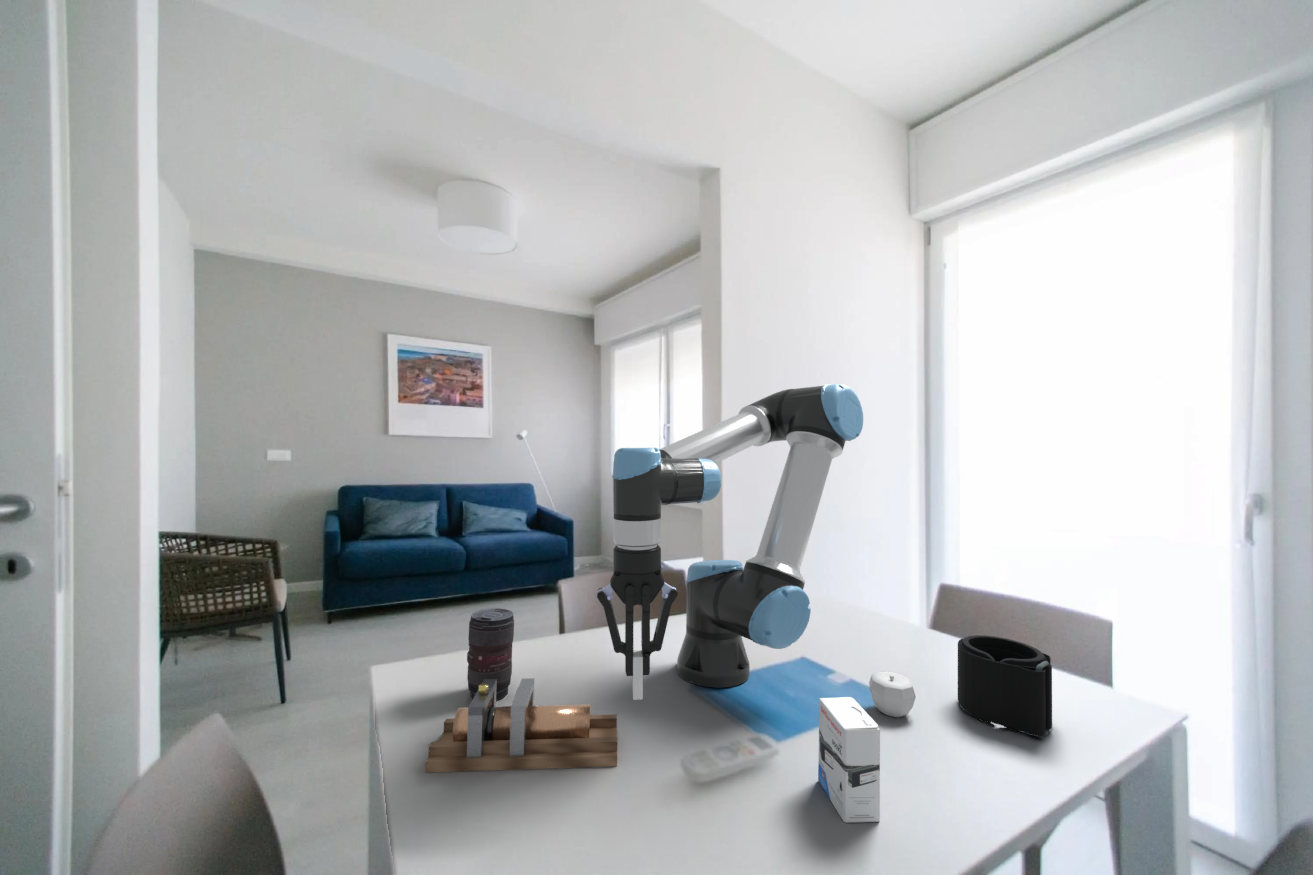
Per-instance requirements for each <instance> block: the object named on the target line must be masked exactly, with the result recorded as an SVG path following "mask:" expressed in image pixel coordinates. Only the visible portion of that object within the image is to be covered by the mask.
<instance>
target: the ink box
mask: <svg viewBox="0 0 1313 875" xmlns="http://www.w3.org/2000/svg"><path fill="white" fill-rule="evenodd" d="M818 700H819V701H818V702H819V703H818V704H819V705H818V710H819V711H818V767H817V768H818V774H817V776H818V778H817V779H818V783H819V784H820V786H821V787H822V789H823V790H824V792H825V794H826V795H827V796H828V798H829V801H831V803H832V805H833V806H834V808H835V809H836V812H837V813H838V814H839V816H840V817H841V820H842V821H843V823H847V824H848V823H876V822H877V823H878V822H881V821H880V820H881V808H880V807H881V804H880V803H881V794H880V793H881V791H880V790H881V787H880V786H881V785H880V784H881V782H880V780H881V779H880V778H881V777H880V775H881V769H880V768H881V729H880V728H879V724H878V723H877V722H876V721H875V720H874V719H873V717H871V715H869V714H868V713H867V711H866V710H865V709H864V708H863V707H862V706H861V705H860V704H859V702H857V701H856V699H855V698H853V697H850V696H842V697H819V699H818Z"/></svg>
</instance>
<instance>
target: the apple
mask: <svg viewBox="0 0 1313 875" xmlns="http://www.w3.org/2000/svg"><path fill="white" fill-rule="evenodd" d="M870 676H871V677H870V679H869V681H868V684H869V691H870V695H871V698H872V701H873V703H874V705H875V706H876V709H878V711H879V712H880V713H883V714H884V715H886V716H889V717H893V718H900V717H905V716H907V715H908V714H909V713H910V712H911V710H912V709H913V708H914V705H915V701H916V697H917V696H916V693H915V690H914V687H913V683H912V680H911V679H910V678H908V677H906V676H904V675H902V674H900V673H897V672H889V671H880V672H874V673H872V674H871V675H870Z"/></svg>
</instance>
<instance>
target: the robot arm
mask: <svg viewBox="0 0 1313 875" xmlns="http://www.w3.org/2000/svg"><path fill="white" fill-rule="evenodd" d="M863 426H864V412H863V407H862V404H861V401H860V399H859V397H858V395H857V393H856V392H855V390H853V389H852V387H849V386H848V385H846V384H843V383H840V384H839V383H835V384H830V383H826V384H824V385H817V386H816V385H815V386H809V387H798V388H789V389H782V390H780V391H777V392H774V393H772V394H770V395H768V396H766V397H763V398H761V399H759V400H756V401H754V402H753V403H751V404H748V405H745V406H744V407H742V408H741V409H740V410H739V412H738V414H736V415H735V416H731V417H729V418H728V419H724V420H722V421H721V422H719V423H716V424H714V425H712V426H709V427H707V428H705V429H702V430H700V431H698V432H695V433H693V434H691V435H688V436H687V437H684V438H682V439H680V440H678V441H674V442H673V443H670V444H669V445H666V446H664V447H662V448H659V447H658V448H657V447H620V448H618V449H616V451H615V453H614V456H613V465H612V466H613V467H612V475H611V477H612V480H613V481H612V483H613V484H612V486H613V490H612V492H613V493H612V494H613V495H612V496H613V498H612V499H613V502H612V503H613V518H612V521H613V522H612V523H613V527H612V530H613V534H612V535H613V537H612V539H613V540H612V541H613V543H614V544H615V546H614V548H613V554H612V556H613V562H612V563H613V566H612V567H613V568H612V569H613V572H612V576H611V578H610V583H608V584H606V586H604V587H599V588H598V589H597V591H596V592H597V593H596V598H597V599H598V601H599V603H600V605H602V607H603V611H604V614H605V618H606V622H607V626H608V631H609V634H610V638H611V642H612V647H613V651H614V652H615V653H616V654H619V653H621V654H623V655H624V656H625V657H624V658H625V662H624V663H625V667H624V670H625V671H624V672H625V675H626V677H632V700H633V701H636V700H637V701H638V700H640V701H641V700H644V680H643V678H644V676H649V675H650V673H651V655H652V654H653V653H654V652H660V651H662V648H663V643H664V639H665V635H666V630H667V626H668V622H669V618H670V613H671V609H672V605H673V603H675V600H676V599H677V597H678V596H679V593H678V590H677V588H676V587H675V585H670V584H668V583H667V582H665V578H664V576H663V575H662V548H661V547H660V545H659V544H660V543H661V541H662V535H661V534H662V530H661V529H662V522H661V521H662V518H661V516H662V506H667V505H678V504H690V503H691V504H693V503H695V504H696V503H697V504H700V503H703V502H708V501H709V502H710V501H712V500H714V499H715V498H716V497H717V496H718V494H719V493H720V491H721V487H722V472H721V471H720V468H719V466H718V465H717V464H718V463H720V462H722V461H724V460H726V459H728V458H730V457H732V456H734V455H737V454H738V453H740V452H742V451H744V450H746V449H749V448H750V447H752V446H754V447H762V446H764V445H766V444H768V443H772V442H781V441H786V442H787V443H788V445H789V447H790V448H789V451H788V454H787V458H786V462H785V463H784V467H783V470H782V473H781V477H780V480H779V483H778V486H777V488H776V491H775V492H776V493H775V495H774V498H773V499H774V500H773V502H772V505H771V508H770V510H769V514H768V517H767V521H766V524H765V528H764V531H763V533H762V537H761V540H760V543H759V547H758V549H757V552H756V555H755V556H753V557H751V558H749V559H748V560H746V561H745V564H744V566H743V563H742V562H741V561H740V560H734V559H714V560H713V559H712V560H711V559H710V560H703V561H697V562H694V563H693V562H692V564H690V565H689V567H687V568H688V569H687V575H686V577H687V578H686V582H685V584H686V600H685V601H686V606H685V608H686V610H685V612H686V613H685V617H686V618H685V622H686V626H685V628H686V629H685V634H684V635H685V636H684V638H683V642H682V644H681V648H680V650H679V653H678V657H677V660H676V664H677V665H676V672H677V674H678V675H679V677H681V679H683V680H685V681H686V682H689V683H690V684H694V685H697V686H701V687H707V688H717V689H719V688H730V687H736V686H739V685H741V684H743V683H745V682H747V681H748V680H749V678H750V661H749V658H748V654H747V651H746V650H747V649H746V647H745V644H744V641H743V638H745V639H747V640H749V641H751V642H753V643H755V644H758V645H759V646H763V647H768V648H771V649H775V650H782V649H786V648H788V647H790V646H792V645H793V644H795V643H796V642H797V641H798V640H799V639H800V638H801V637H802V636H803V634H804V632H805V631H806V629H807V627H808V625H809V622H810V617H811V606H810V604H811V602H810V597H809V595H808V594H807V593H806V592H805V591H804V588H805V584H806V581H805V579H804V577H803V576H802V573H801V567H802V564H803V561H804V557H805V554H806V550H807V547H808V543H809V540H810V537H811V533H812V529H813V528H814V523H815V520H816V516H817V513H818V509H819V506H820V503H821V499H822V496H823V493H824V492H823V491H824V488H825V486H826V482H827V477H828V476H829V472H830V467H831V464H832V461H833V459H835V458H838V457H839V456H841V455H842V454H843V450H844V447H845V445H846V442H847V441H848V442H851V441H853V440H855V439H857V438H858V437H859V436H860V435H861V433H862V432H863V431H862V430H863ZM660 591H661V597H662V600H661V604H660V608H659V613H658V617H657V621H656V625H655V630H654V633H653V638H652V640H651V604H652V603H653V601H654V600H655V598H656V597H657V596H658V594H659V592H660ZM613 592H614V593H615V595H616V596H617V597H618V598H619V600H620V601H621V602H622V603H623V604H624V611H625V614H624V616H625V617H624V618H625V619H624V620H625V621H624V626H625V627H624V629H625V632H624V636H625V637H624V638H625V639H624V641H622V639H621V635H620V631H619V626H618V622H617V618H616V614H615V611H614V606H613V602H612V600H613V598H614V597H613V595H614V594H613ZM637 605H638V606H640V610H641V611H640V613H641V615H640V618H641V620H640V626H641V629H640V630H641V631H640V632H641V638H640V639H641V641H640V642H641V649H637V650H634V613H635V612H634V606H637Z"/></svg>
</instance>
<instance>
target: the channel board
mask: <svg viewBox="0 0 1313 875" xmlns="http://www.w3.org/2000/svg"><path fill="white" fill-rule="evenodd" d="M454 719H455V717H454V718H446V719H445V721H444V722H443V732H442V734H441V735H440V737H439V739H438V740H437V741H434V742H431V743H430V744H429V746H428V755H427V759H426V760H425V763H424V764H425V766H424V767H425V771H424V772H425V773H427V774H428V773H451V772H454V773H455V772H456V773H457V772H478V771H479V772H481V771H482V772H484V771H513V770H541V769H542V770H543V769H567V768H568V769H569V768H570V769H573V768H577V769H578V768H597V767H598V768H601V767H604V768H605V767H618V714H590V733H589V738H567V739H532V740H526V741H525V749H524V757H510V740H497V741H484V743H483V745H482V757H481V758H467V741H462V742H453V724H454Z"/></svg>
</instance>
